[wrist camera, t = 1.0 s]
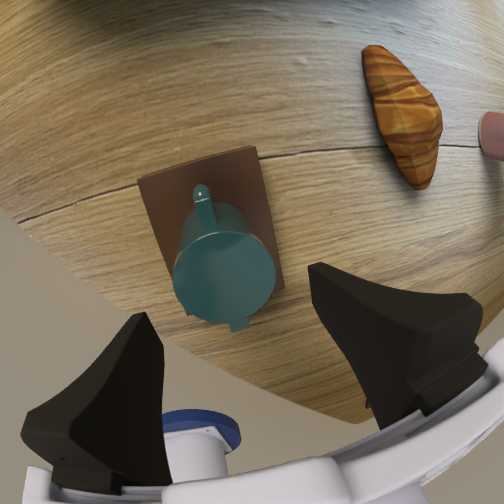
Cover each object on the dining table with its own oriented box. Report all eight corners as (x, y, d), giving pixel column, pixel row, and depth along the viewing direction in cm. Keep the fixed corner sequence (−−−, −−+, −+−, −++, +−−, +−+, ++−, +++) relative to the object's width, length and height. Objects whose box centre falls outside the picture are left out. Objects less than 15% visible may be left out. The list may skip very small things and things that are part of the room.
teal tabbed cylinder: (195, 289, 20) (196, 342, 15) (161, 188, 17) (143, 212, 12) (262, 270, 21) (285, 317, 15) (238, 166, 17) (256, 179, 12)
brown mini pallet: (187, 302, 23) (187, 316, 21) (142, 175, 18) (136, 179, 16) (278, 276, 24) (285, 288, 22) (250, 145, 19) (255, 146, 17)
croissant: (434, 172, 22) (470, 183, 18) (388, 200, 23) (425, 216, 18) (389, 42, 17) (425, 31, 12) (331, 56, 17) (365, 40, 12)
